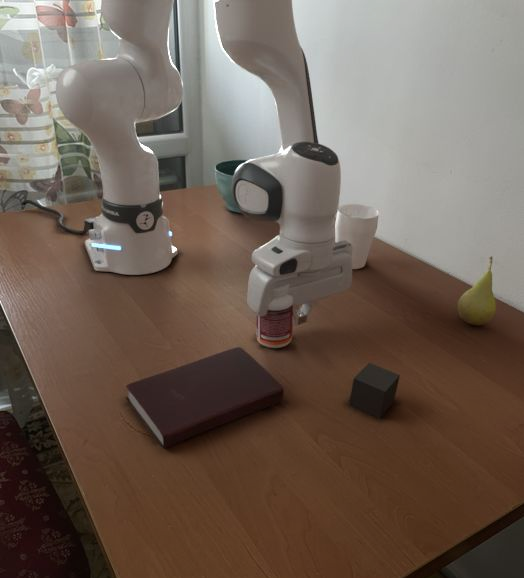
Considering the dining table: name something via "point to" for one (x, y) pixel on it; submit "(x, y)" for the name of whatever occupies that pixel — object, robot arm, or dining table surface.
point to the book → (203, 395)
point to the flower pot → (227, 181)
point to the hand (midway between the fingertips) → (298, 322)
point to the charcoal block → (374, 390)
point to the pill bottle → (276, 320)
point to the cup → (356, 230)
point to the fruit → (478, 301)
